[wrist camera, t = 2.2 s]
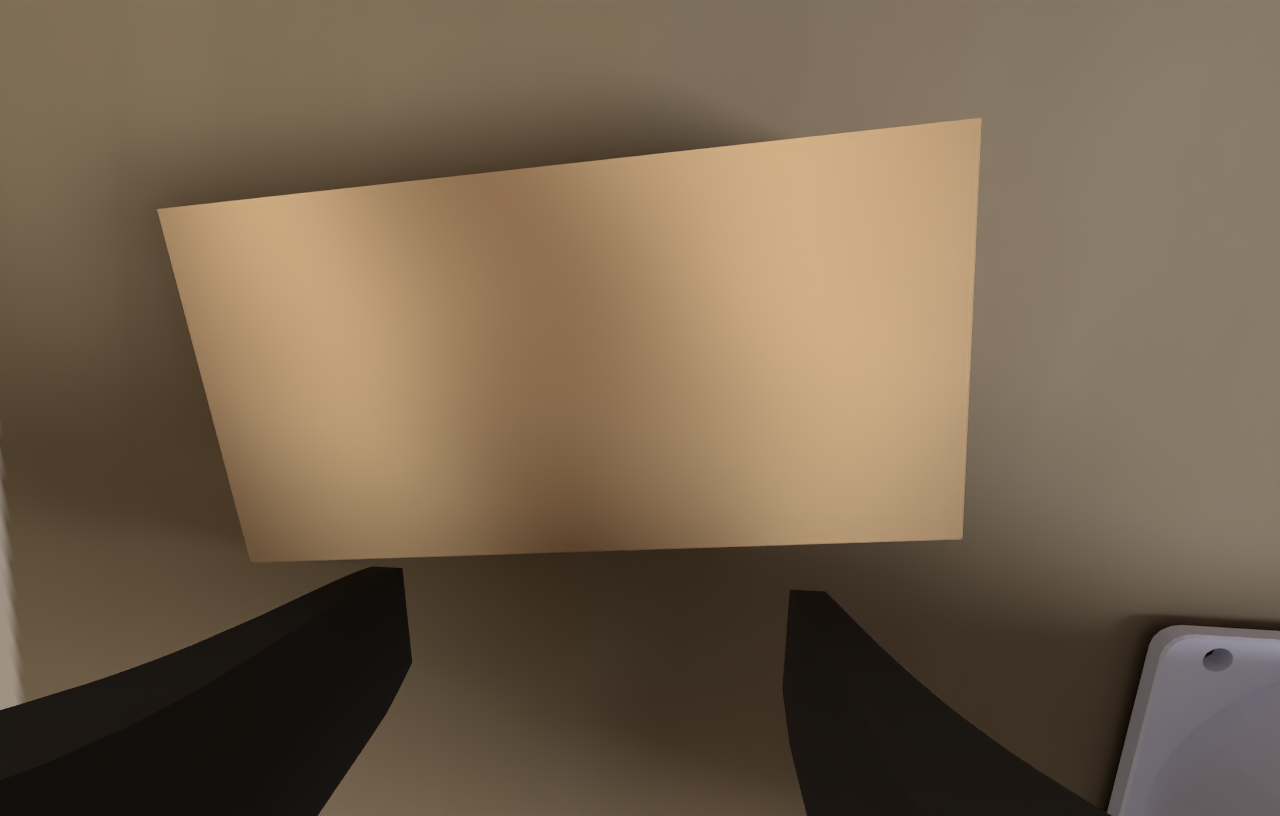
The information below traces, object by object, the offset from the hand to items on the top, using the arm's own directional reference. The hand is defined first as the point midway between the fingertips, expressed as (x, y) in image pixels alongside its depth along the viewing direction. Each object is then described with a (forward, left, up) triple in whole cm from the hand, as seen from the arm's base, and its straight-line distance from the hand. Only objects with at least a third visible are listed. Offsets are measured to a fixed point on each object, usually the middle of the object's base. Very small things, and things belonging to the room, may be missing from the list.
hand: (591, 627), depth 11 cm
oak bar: (0, -5, -2) cm, 6 cm away
